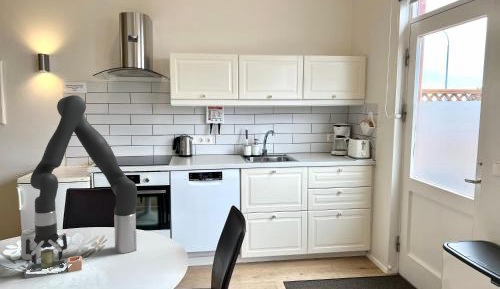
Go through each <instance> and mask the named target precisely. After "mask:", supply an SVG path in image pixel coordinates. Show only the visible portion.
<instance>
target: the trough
mask: <svg viewBox="0 0 500 289" xmlns="http://www.w3.org/2000/svg"><path fill="white" fill-rule="evenodd" d="M67 262H68V258H62V259H61V260H59V259H54V267H57V266H56V265H59V266H61V265H60V264H62V263H64V264H65V263H67ZM31 268H32V269H31ZM26 269H27V270H30V269H31V270H38V269H41V261H40V262H38V261H37V263H36V264H34V263H27V266H26ZM26 269H25V270H26ZM67 272H68V268H67V269H65V270H64V271H61V272H58V273H47V274H26V273H25V272H24V279H29V278H36V277H42V276H50V275H56V274H65V273H67Z"/></svg>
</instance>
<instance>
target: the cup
mask: <svg viewBox="0 0 500 289" xmlns="http://www.w3.org/2000/svg"><path fill="white" fill-rule="evenodd" d="M82 257H83V256H81V255H77V256H70V257H68V258H67V259H68V264H72V265H71V266H70V267H69V268H68V267H67V272H69V273H71V272H78V271H79V272H80V271H81V270H83V268H82V266H83V258H82ZM79 258H80V260H77V259H79ZM75 260H77V261H75Z"/></svg>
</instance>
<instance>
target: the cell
mask: <svg viewBox="0 0 500 289" xmlns="http://www.w3.org/2000/svg"><path fill="white" fill-rule="evenodd" d="M54 252H55V251H54V249H53V248H46V249H45V248H44V249H42V251H41V256H40V262H41V268H40V270H41V269H47V268H50V267H54V268H55V266H54V260H55V257H54V256H55V255H54Z"/></svg>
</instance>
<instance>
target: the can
mask: <svg viewBox="0 0 500 289" xmlns="http://www.w3.org/2000/svg"><path fill="white" fill-rule="evenodd" d="M21 233H22V234H21V235H20V246H21V247H20V249H21V252H20V253H21V258H22V260H24V261H32V256H31V255H30V254H26V240H27V238H28V237H29V238H35V228H28V229H25V230H22V232H21ZM36 245H37V244H36V243H35V242H34V241H33V242H32V244H30V250H33V249H34V248H35V247H36ZM42 250H43V248H41V247H40V248H39V249H38V251H37V252H36V258H37V259H39V258H41V251H42Z"/></svg>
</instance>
